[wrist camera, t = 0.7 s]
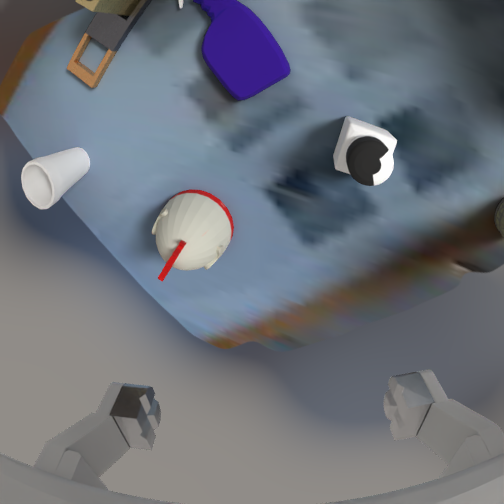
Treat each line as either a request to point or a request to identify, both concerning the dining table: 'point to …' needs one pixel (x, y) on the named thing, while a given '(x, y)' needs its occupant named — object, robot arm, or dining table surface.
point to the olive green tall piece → (500, 217)
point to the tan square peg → (110, 6)
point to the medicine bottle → (364, 152)
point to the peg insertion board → (104, 41)
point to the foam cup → (53, 176)
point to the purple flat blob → (241, 49)
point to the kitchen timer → (192, 231)
